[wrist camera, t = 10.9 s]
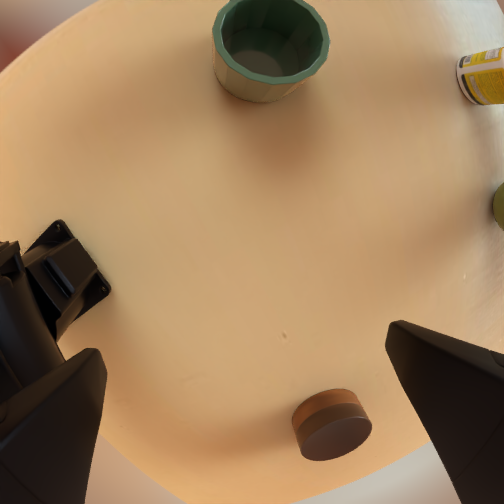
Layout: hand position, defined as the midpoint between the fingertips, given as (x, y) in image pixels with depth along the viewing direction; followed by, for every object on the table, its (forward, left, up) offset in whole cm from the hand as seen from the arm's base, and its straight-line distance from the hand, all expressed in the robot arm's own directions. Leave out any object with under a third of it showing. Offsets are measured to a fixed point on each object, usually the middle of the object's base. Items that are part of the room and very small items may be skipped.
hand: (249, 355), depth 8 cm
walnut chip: (-2, -20, -10) cm, 22 cm away
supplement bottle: (+26, +1, -12) cm, 29 cm away
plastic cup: (+8, +9, -12) cm, 17 cm away
